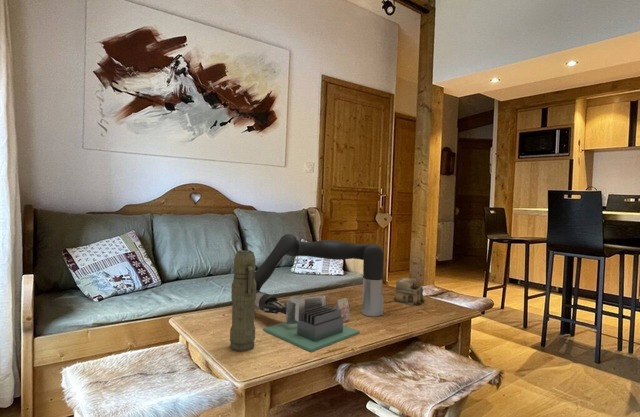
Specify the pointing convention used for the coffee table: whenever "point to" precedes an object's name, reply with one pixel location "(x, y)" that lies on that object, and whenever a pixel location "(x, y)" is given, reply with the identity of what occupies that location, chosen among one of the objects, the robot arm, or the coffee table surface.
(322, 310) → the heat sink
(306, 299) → the silver metal plate
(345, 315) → the tea bag
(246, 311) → the thermos
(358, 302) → the coffee table surface
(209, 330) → the coffee table surface
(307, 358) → the coffee table surface
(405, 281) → the miniature house
